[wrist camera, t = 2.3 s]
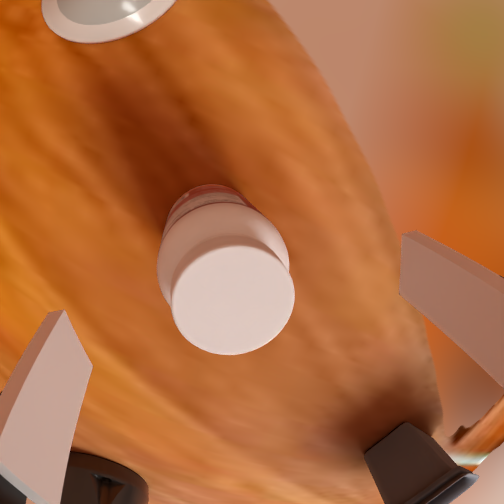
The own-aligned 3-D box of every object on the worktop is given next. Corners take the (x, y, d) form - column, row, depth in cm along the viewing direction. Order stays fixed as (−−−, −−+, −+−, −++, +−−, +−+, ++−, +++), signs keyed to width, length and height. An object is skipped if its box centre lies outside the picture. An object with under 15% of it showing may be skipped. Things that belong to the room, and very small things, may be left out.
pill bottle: (255, 263, 23) (309, 357, 13) (172, 272, 22) (166, 378, 12) (253, 179, 21) (317, 217, 11) (162, 186, 20) (136, 233, 10)
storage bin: (445, 430, 43) (482, 477, 30) (383, 479, 45) (413, 529, 32) (412, 403, 35) (467, 472, 22) (329, 467, 37) (364, 540, 24)
